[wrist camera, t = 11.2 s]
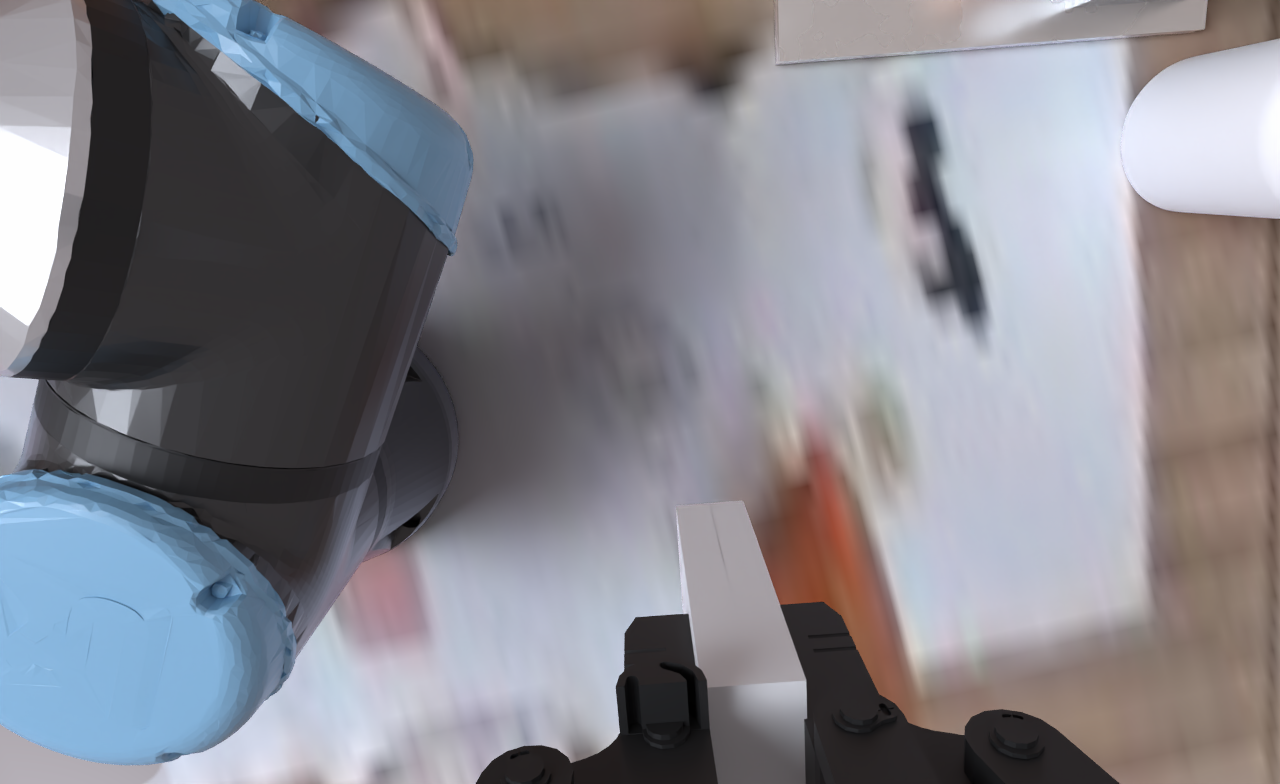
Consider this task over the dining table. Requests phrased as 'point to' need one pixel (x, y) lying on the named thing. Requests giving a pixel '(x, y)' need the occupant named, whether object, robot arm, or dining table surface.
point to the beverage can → (1209, 134)
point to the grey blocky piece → (965, 25)
